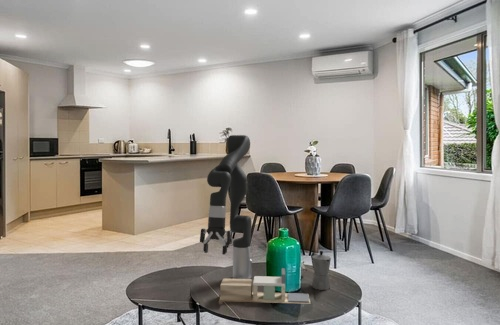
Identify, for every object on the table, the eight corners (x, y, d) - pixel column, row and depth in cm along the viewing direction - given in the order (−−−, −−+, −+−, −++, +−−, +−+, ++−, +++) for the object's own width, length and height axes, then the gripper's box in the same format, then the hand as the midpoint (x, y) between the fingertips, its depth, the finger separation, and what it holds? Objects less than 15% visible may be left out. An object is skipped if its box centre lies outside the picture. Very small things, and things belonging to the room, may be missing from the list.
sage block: (263, 295, 181) (263, 282, 181) (274, 295, 181) (274, 282, 181) (263, 299, 176) (263, 285, 176) (274, 299, 176) (274, 286, 176)
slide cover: (254, 278, 183) (254, 267, 183) (284, 279, 182) (284, 268, 182) (253, 285, 174) (253, 273, 174) (285, 286, 173) (285, 274, 173)
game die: (301, 282, 214) (312, 267, 215) (298, 281, 206) (309, 265, 207) (288, 271, 218) (299, 257, 219) (284, 270, 210) (295, 255, 211)
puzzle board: (222, 294, 186) (222, 277, 186) (308, 296, 183) (308, 279, 183) (218, 304, 174) (218, 286, 174) (310, 307, 171) (310, 289, 171)
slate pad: (287, 294, 183) (287, 293, 182) (307, 294, 182) (307, 293, 182) (288, 301, 174) (288, 300, 174) (309, 302, 173) (309, 301, 173)
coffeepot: (336, 290, 192) (337, 253, 192) (320, 292, 189) (320, 255, 188) (319, 280, 207) (319, 246, 206) (303, 282, 203) (303, 247, 202)
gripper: (235, 217, 177) (233, 254, 175) (205, 215, 181) (203, 251, 180) (229, 217, 170) (226, 256, 168) (198, 215, 174) (196, 253, 172)
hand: (214, 253), depth 174 cm, fingers open, 8 cm apart
